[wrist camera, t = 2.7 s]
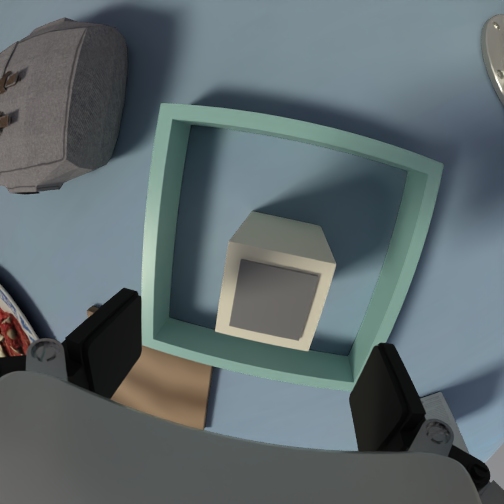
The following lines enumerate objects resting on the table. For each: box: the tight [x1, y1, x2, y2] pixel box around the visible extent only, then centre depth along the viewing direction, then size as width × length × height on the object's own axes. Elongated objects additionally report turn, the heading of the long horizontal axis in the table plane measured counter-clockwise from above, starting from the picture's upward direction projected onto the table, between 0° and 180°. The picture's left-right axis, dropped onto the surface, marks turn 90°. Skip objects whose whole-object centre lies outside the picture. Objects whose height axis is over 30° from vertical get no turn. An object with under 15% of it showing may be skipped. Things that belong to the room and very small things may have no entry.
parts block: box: [215, 211, 336, 351], centre depth 18 cm, size 5×5×8 cm
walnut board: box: [87, 306, 213, 430], centre depth 27 cm, size 13×13×1 cm
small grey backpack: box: [0, 18, 128, 194], centre depth 16 cm, size 15×8×20 cm
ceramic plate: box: [0, 284, 39, 357], centre depth 30 cm, size 26×26×3 cm
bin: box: [142, 103, 444, 392], centre depth 20 cm, size 18×18×4 cm
